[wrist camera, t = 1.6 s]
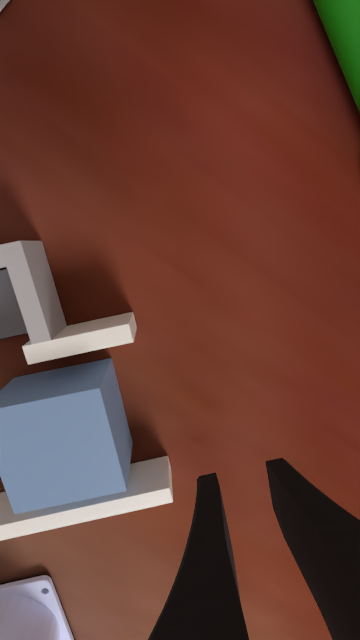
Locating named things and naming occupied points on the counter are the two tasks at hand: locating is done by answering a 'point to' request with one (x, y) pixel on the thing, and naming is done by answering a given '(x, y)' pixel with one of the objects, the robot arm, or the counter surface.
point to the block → (63, 436)
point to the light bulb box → (3, 4)
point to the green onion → (344, 38)
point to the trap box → (56, 342)
